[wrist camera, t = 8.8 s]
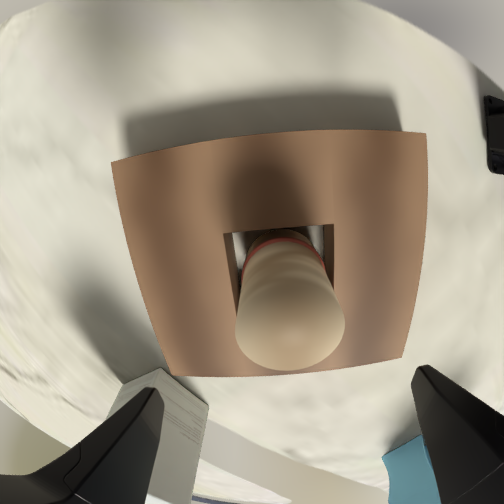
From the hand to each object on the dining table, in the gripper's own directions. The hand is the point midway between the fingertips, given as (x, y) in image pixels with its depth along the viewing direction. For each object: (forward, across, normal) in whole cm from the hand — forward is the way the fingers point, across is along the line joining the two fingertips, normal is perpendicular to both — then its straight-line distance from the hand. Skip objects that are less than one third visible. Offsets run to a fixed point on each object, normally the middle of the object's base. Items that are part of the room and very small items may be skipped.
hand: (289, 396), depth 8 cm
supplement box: (+12, +13, +15) cm, 23 cm away
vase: (+12, -20, +37) cm, 44 cm away
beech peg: (+11, 0, 0) cm, 11 cm away
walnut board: (+11, 0, 0) cm, 11 cm away
